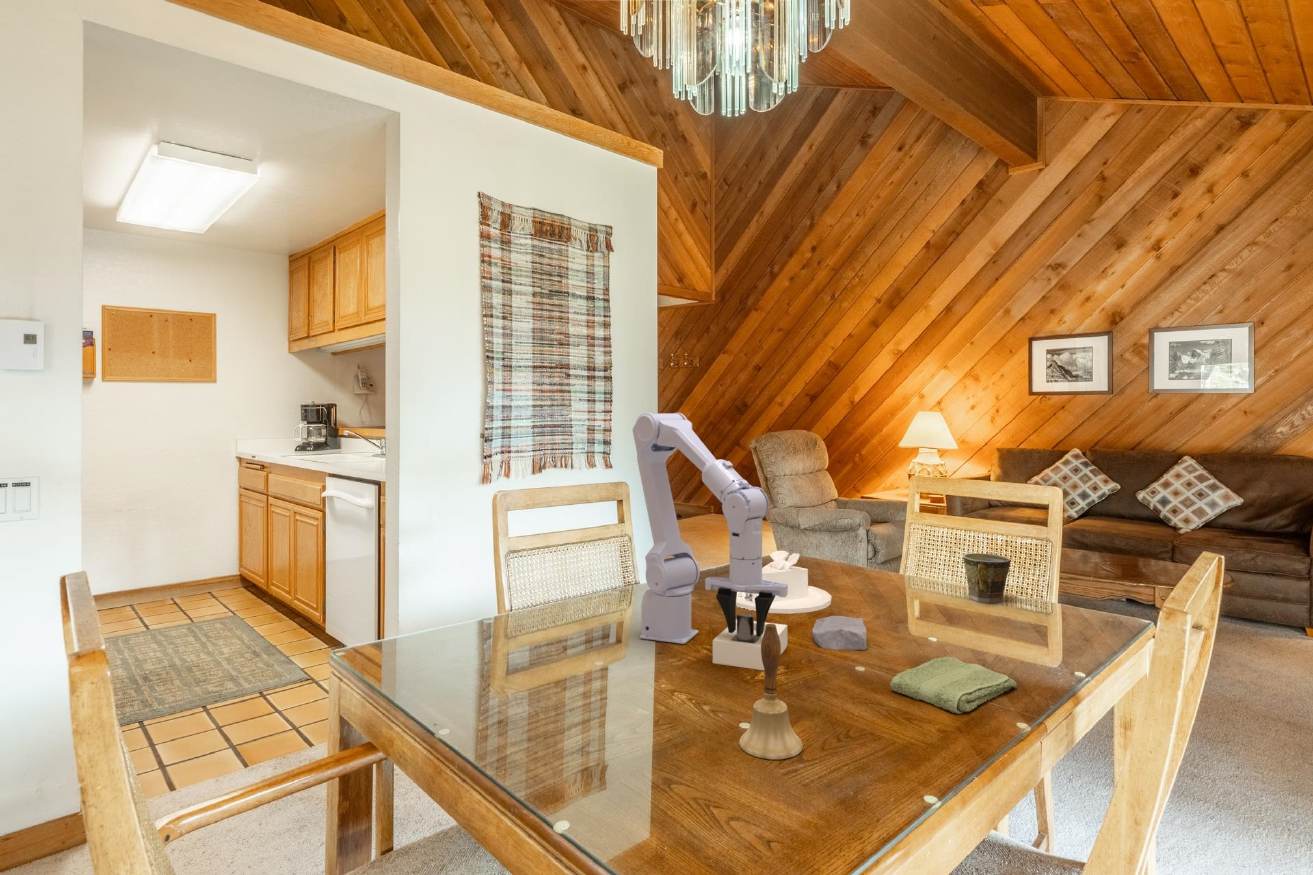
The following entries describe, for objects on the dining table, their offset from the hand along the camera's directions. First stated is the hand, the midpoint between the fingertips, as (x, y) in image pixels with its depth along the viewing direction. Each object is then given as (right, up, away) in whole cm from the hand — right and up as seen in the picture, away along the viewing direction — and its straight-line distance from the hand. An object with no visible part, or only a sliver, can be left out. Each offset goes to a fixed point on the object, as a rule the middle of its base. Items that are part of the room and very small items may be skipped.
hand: (745, 632), depth 124 cm
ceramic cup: (+60, -4, +39) cm, 72 cm away
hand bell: (-1, -6, -32) cm, 32 cm away
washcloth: (+31, -6, -13) cm, 34 cm away
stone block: (+19, -5, +11) cm, 23 cm away
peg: (0, -5, 0) cm, 5 cm away
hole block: (+1, -5, +3) cm, 6 cm away
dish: (+13, -4, +42) cm, 44 cm away
